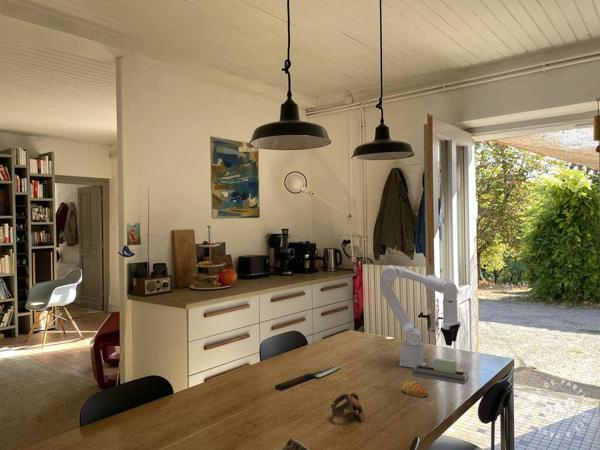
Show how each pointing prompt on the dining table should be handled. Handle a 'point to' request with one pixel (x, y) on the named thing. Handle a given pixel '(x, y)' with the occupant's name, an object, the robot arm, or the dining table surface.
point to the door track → (439, 374)
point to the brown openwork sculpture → (347, 405)
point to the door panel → (445, 365)
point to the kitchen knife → (304, 378)
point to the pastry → (414, 388)
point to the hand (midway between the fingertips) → (451, 343)
